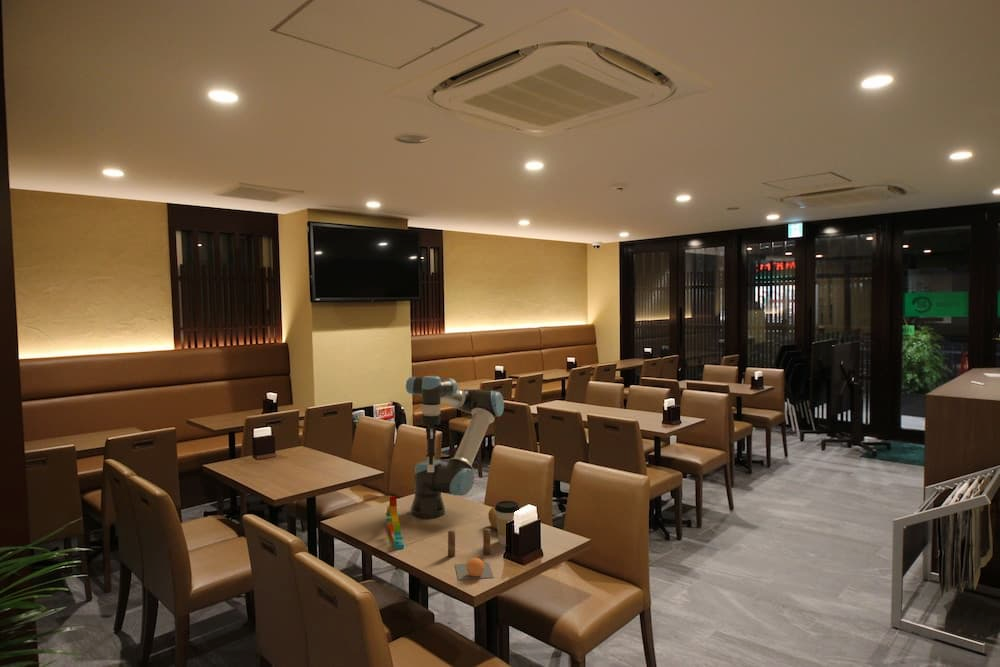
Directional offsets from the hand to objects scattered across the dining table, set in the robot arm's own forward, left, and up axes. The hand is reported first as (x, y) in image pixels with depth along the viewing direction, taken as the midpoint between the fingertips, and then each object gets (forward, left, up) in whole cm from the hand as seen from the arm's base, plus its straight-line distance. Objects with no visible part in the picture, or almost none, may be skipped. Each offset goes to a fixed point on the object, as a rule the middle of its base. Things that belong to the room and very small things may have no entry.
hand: (430, 471), depth 239 cm
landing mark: (+40, +13, -24) cm, 49 cm away
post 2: (+26, +20, -24) cm, 41 cm away
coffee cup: (+16, +29, -25) cm, 41 cm away
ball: (+44, +13, -21) cm, 50 cm away
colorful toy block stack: (+2, -14, -25) cm, 29 cm away
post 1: (+26, +7, -24) cm, 36 cm away
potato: (+2, +29, -25) cm, 38 cm away
